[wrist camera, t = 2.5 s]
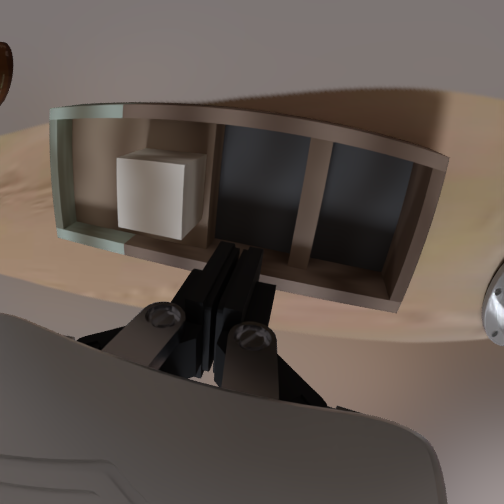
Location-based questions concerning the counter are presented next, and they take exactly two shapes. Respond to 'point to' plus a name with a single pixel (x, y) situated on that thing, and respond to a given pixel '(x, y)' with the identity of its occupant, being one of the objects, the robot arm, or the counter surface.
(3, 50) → the food container
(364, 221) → the box
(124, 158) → the block
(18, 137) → the counter surface
